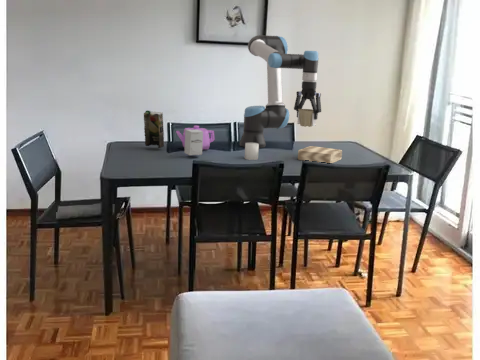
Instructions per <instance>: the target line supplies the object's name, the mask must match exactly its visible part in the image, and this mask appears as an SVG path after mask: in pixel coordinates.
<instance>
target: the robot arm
mask: <svg viewBox="0 0 480 360" xmlns="http://www.w3.org/2000/svg"><path fill="white" fill-rule="evenodd" d="M288 47H289V46H288V42H287V39H285V37H283V36H279V35H263V34H260V35H259V34H258V35H255V36H253V37H251V38H250V40H249V41H248V43H247V49H248V51H249V53H250V54H251V55H253V56H255V57H260V58H261V59H263V60H264V61H265V62H266V72H267V75H266V76H267V78H266V79H267V103H266V104H265V106H264V105H251V106H247V107H246V108H245V109H244V113H243V133H242V135H241V137H240V140H239V141H240V142H239V146H240V147H243V148H245V143H248V142H253V143H258V144H259V149H262V148H265V147H266V144H267V143H266V139H265V136H264V129H277V130H278V129H283V128H285V127H287V125H288V123H289V120H290V111H289V109H288V108H286V104H284V101H283V69H294V70H295V69H296V70H302V81H301V90H300V91H296V97H295V102H294V106H293V110H294V111H296V118H297V121H296V122H297V123H296V124H297V125H300V114H299V110H298V109H303V107H304V105H305V102H306V101H307V100H309V102H310V104H311V108H312V110H313V111H314V112H313V113H312V127H314V126H316V123H317V120H318V116H319V115H318V114H319V113H322V104H321V96H322V93H320V92H316V89H317V80H318V66H319V51H317V50H305V51H304V52H303V54H302V53H301V54H300V53H297V54H295V53H288V52H289V51H288V50H289V49H288Z"/></svg>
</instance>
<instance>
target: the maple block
mask: <svg viewBox="0 0 480 360" xmlns="http://www.w3.org/2000/svg"><path fill="white" fill-rule="evenodd" d="M342 157H343V150H342V149H337V148H330V147H329V148H328V147H322V146H315V145H310V146H306V147H304V148H301V149H298V152H297V160H299V161H305V160H309V161H308V162H312V161H317V162H316V163H319V162H326V163H332V164H333V163H336V162H338V161H340V160H342ZM326 163H325V164H326Z"/></svg>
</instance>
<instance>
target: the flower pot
mask: <svg viewBox="0 0 480 360" xmlns="http://www.w3.org/2000/svg"><path fill="white" fill-rule="evenodd" d="M298 110H299V114H300V124H299V125H300V126H301V127H305V128H306V127H308V128H311V127H313V126H312V113H313V112H314V111H313V108H312V109H309V108H302V109H298Z"/></svg>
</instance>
